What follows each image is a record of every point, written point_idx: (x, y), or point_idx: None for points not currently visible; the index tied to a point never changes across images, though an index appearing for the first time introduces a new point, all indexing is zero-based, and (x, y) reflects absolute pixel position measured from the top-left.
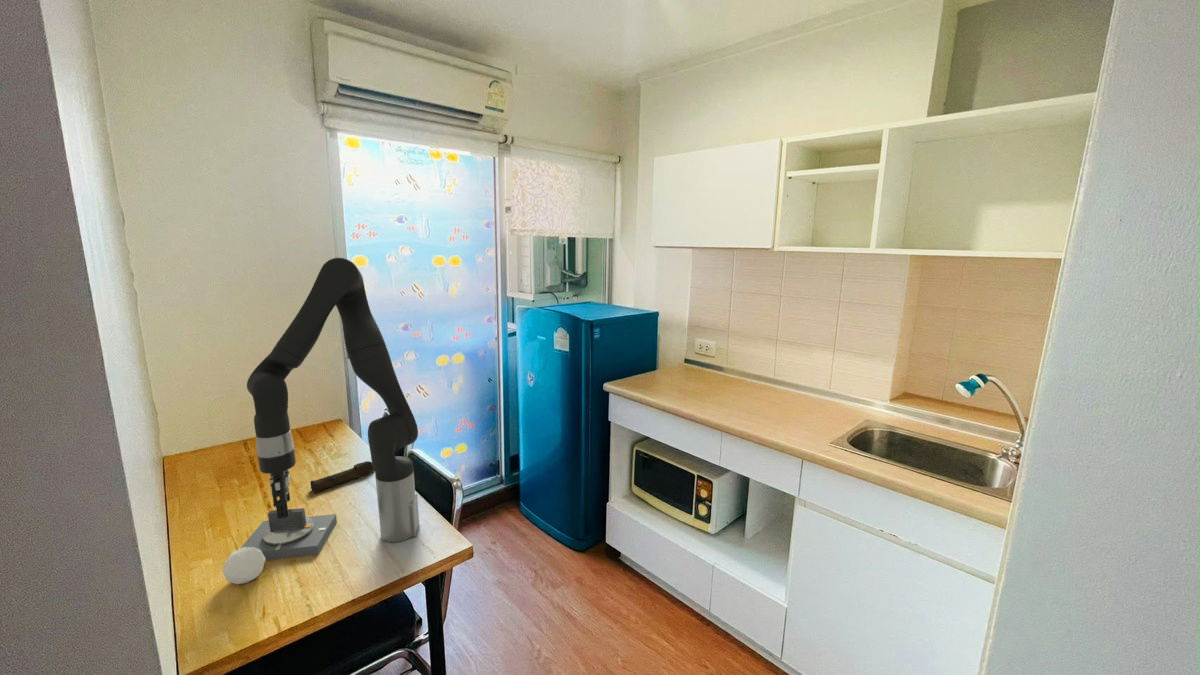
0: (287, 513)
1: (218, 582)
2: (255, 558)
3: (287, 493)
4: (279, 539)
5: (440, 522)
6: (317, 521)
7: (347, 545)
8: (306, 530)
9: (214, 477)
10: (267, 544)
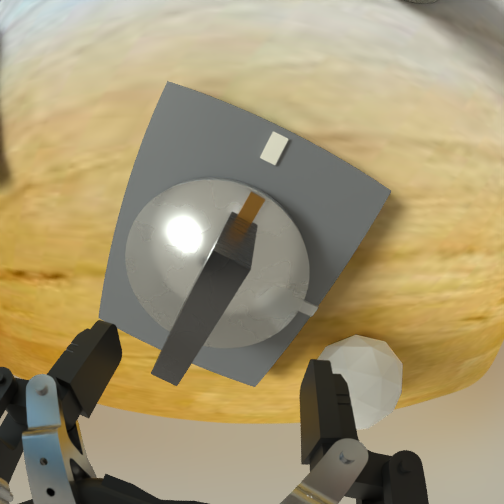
0: (331, 375)
1: None
2: (397, 382)
3: (303, 490)
4: (282, 312)
5: None
6: (185, 158)
7: (384, 87)
8: (281, 217)
9: None
10: None
